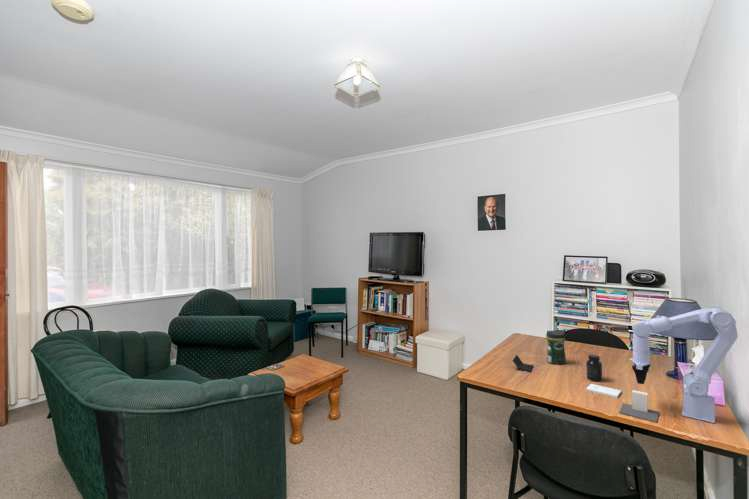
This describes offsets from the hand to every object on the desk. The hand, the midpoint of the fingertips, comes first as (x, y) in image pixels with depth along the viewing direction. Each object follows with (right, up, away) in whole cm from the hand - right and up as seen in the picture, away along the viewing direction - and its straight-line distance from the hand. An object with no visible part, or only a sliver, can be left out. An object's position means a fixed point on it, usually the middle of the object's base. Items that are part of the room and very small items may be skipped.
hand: (641, 382), depth 150 cm
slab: (-4, -10, -4) cm, 11 cm away
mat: (-6, -10, -7) cm, 13 cm away
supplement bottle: (-2, -10, +29) cm, 31 cm away
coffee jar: (-8, -10, +55) cm, 57 cm away
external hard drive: (-6, -11, +15) cm, 19 cm away
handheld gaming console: (-30, -10, +47) cm, 57 cm away
